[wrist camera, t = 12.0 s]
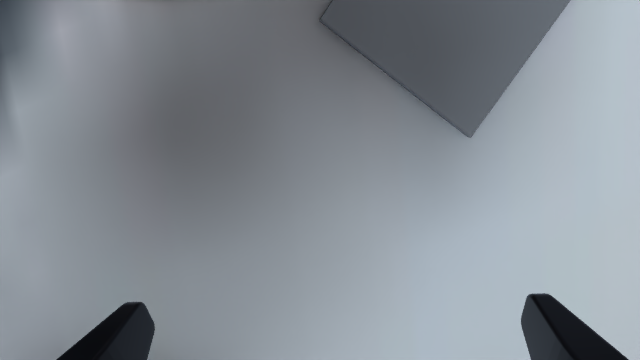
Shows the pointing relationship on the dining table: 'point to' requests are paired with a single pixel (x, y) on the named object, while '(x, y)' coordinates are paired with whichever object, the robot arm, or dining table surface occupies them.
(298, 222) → the dining table surface
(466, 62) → the mat
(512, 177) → the dining table surface
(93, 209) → the dining table surface
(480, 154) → the dining table surface
